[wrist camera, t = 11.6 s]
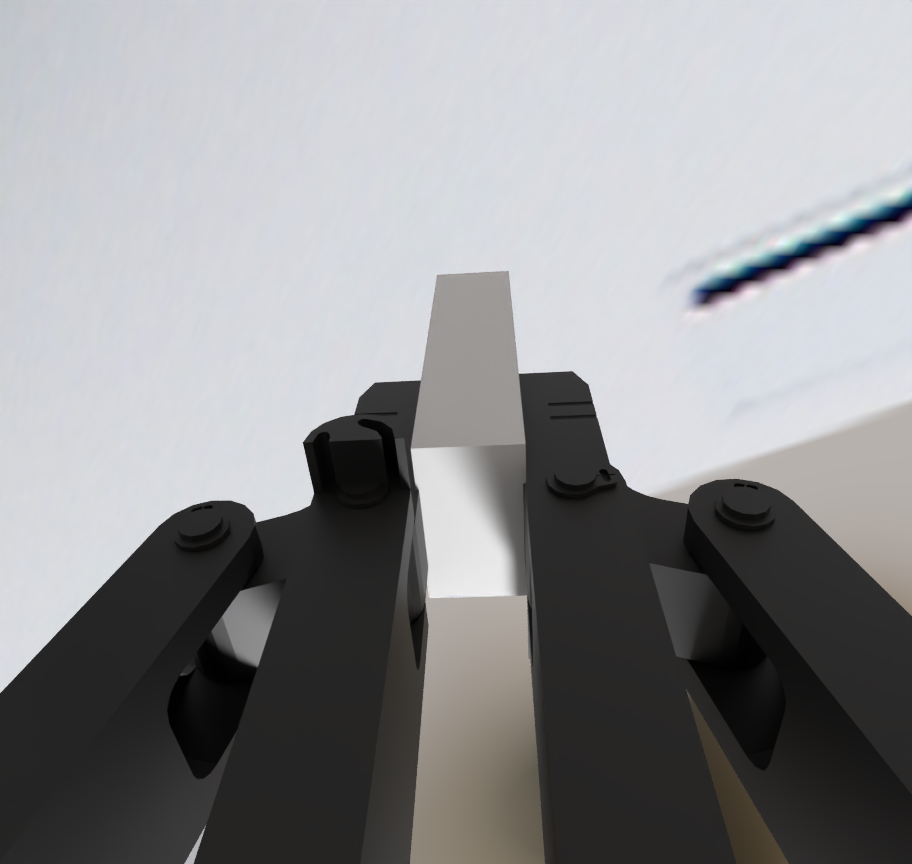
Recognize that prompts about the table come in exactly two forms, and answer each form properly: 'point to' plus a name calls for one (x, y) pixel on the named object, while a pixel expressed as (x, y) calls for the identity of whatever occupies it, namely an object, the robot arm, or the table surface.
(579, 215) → the table surface
